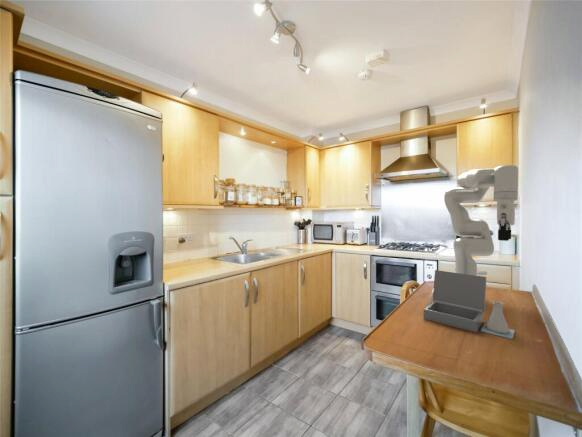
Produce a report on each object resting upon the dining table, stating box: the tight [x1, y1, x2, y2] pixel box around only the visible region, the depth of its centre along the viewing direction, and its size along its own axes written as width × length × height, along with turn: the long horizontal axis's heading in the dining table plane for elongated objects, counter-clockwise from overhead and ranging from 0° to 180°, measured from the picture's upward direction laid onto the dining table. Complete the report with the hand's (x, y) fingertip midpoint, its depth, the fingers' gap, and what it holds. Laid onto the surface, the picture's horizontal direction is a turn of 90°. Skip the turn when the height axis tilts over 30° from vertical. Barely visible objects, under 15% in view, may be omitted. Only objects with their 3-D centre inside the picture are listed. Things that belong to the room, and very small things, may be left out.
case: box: [423, 300, 484, 333], centre depth 108 cm, size 15×18×5 cm
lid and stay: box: [427, 269, 487, 313], centre depth 112 cm, size 9×19×15 cm, turn 46°
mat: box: [480, 323, 516, 340], centre depth 97 cm, size 9×9×1 cm
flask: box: [485, 301, 510, 334], centre depth 98 cm, size 7×7×10 cm
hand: (504, 239), depth 105 cm, fingers open, 9 cm apart
